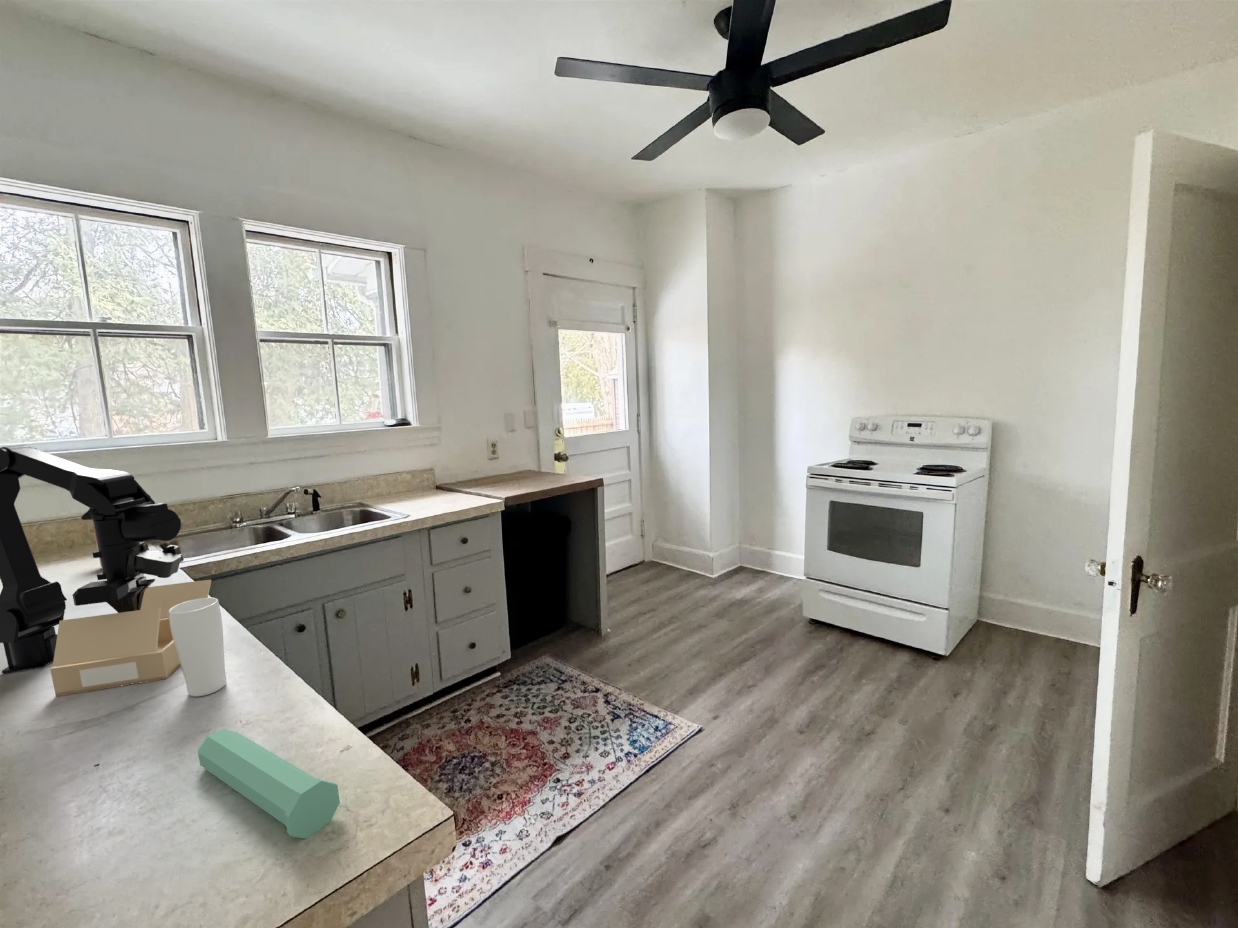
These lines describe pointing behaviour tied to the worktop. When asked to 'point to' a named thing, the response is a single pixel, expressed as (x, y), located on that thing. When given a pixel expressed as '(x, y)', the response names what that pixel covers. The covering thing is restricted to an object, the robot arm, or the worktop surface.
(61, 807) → the worktop surface
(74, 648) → the flap
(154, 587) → the flap
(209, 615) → the drinking glass
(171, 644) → the carton
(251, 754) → the green octagonal rod
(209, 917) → the worktop surface
